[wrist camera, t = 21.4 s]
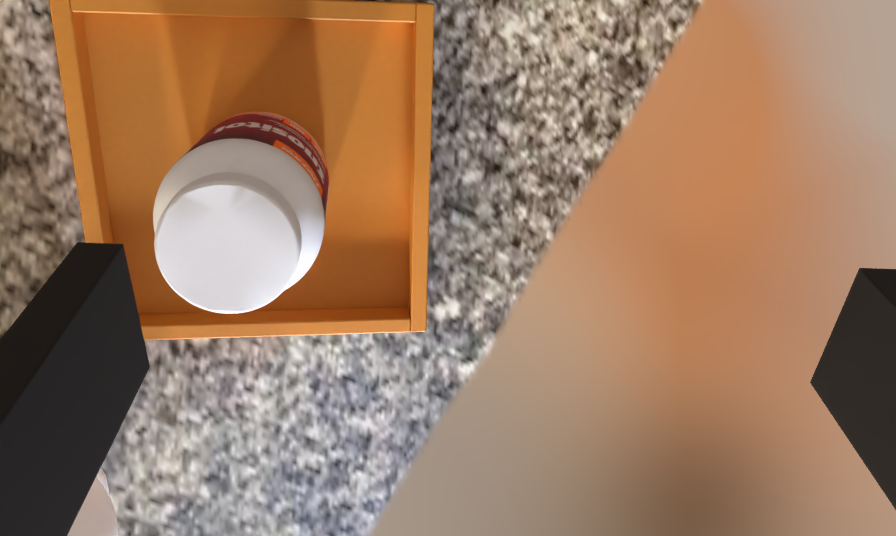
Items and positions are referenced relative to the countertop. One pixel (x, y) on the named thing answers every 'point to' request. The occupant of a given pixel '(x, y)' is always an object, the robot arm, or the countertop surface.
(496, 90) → the countertop surface
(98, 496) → the vase
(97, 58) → the amber tray
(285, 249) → the pill bottle
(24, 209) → the countertop surface
